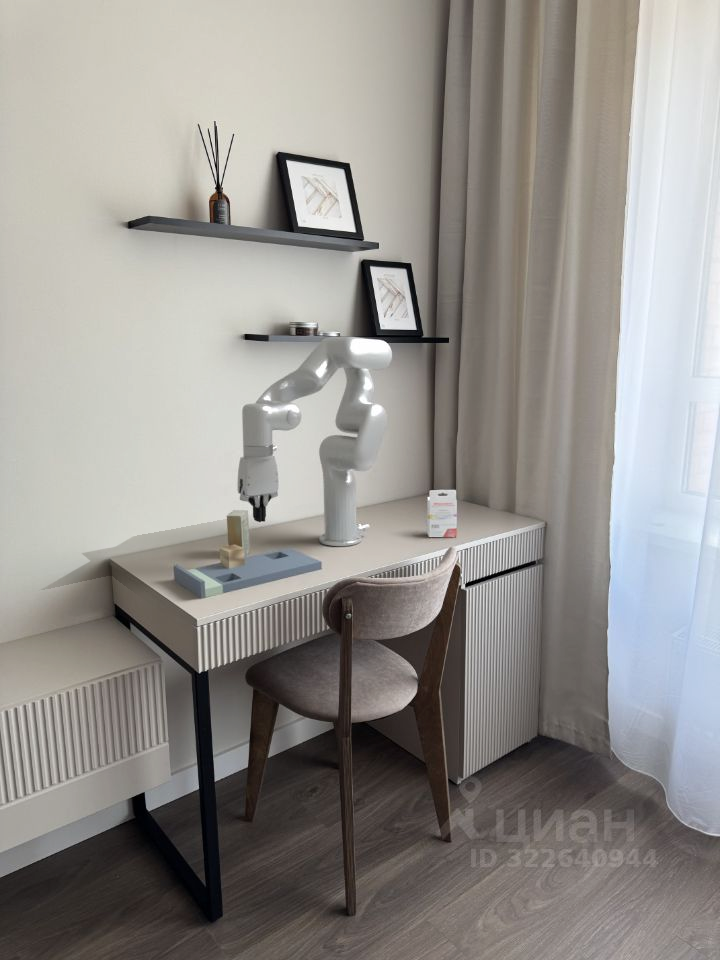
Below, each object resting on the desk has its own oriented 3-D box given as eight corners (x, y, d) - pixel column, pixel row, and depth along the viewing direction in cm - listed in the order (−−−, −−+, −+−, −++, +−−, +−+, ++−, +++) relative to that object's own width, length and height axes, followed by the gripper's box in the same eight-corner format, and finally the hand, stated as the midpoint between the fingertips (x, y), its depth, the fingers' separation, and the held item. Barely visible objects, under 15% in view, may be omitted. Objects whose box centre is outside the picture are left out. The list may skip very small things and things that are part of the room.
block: (235, 560, 189) (234, 544, 188) (244, 564, 185) (243, 548, 184) (220, 564, 186) (219, 547, 185) (229, 568, 182) (228, 551, 181)
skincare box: (235, 551, 204) (233, 509, 202) (250, 551, 203) (248, 509, 201) (228, 557, 198) (225, 515, 195) (243, 558, 197) (241, 515, 195)
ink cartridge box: (454, 533, 219) (455, 486, 216) (456, 537, 214) (457, 490, 212) (426, 533, 219) (427, 486, 216) (428, 538, 214) (428, 490, 211)
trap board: (289, 554, 200) (289, 540, 199) (321, 568, 187) (321, 554, 187) (174, 580, 180) (173, 565, 179) (201, 598, 167) (200, 582, 167)
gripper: (275, 447, 192) (276, 514, 195) (225, 452, 183) (227, 522, 186) (290, 451, 186) (291, 519, 189) (238, 456, 177) (240, 527, 180)
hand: (259, 520), depth 187 cm, fingers closed
